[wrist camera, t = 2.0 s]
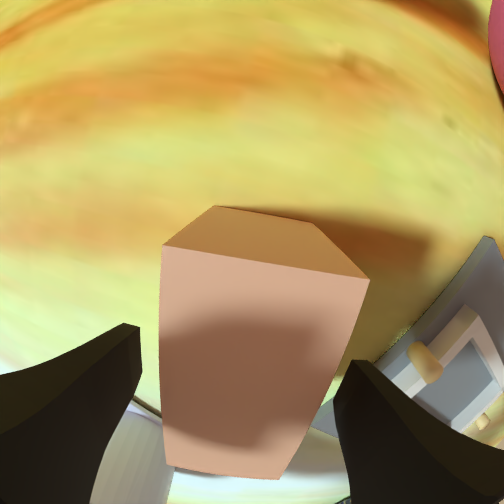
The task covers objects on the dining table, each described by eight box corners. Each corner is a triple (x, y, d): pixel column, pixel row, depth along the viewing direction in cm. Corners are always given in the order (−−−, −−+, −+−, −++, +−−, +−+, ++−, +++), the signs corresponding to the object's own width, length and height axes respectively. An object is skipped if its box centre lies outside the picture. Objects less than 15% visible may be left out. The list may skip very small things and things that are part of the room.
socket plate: (406, 455, 18) (416, 480, 15) (308, 415, 16) (315, 456, 12) (524, 340, 15) (544, 358, 11) (483, 235, 12) (522, 251, 9)
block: (273, 376, 15) (278, 479, 8) (195, 364, 15) (166, 464, 8) (312, 222, 12) (370, 279, 6) (213, 205, 12) (162, 245, 6)
